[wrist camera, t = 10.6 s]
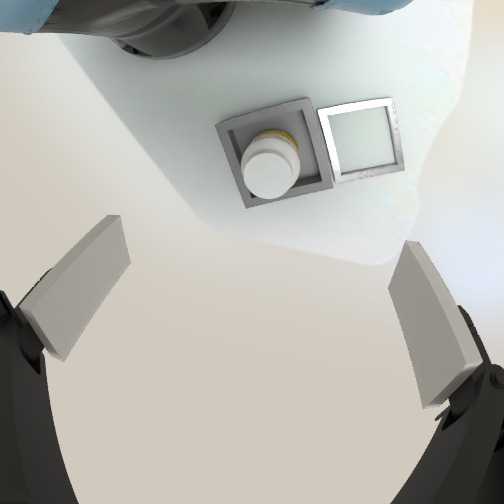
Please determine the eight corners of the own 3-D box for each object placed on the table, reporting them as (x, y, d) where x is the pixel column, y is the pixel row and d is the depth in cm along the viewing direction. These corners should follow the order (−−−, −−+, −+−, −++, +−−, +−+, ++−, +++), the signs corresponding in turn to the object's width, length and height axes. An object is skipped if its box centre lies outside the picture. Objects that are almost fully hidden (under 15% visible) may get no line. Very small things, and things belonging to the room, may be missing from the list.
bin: (221, 122, 29) (214, 125, 26) (307, 97, 26) (309, 97, 24) (249, 198, 34) (245, 208, 31) (329, 179, 31) (333, 187, 28)
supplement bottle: (274, 118, 27) (268, 129, 19) (308, 152, 29) (315, 178, 21) (240, 150, 30) (221, 175, 22) (273, 182, 32) (267, 218, 24)
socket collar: (316, 109, 27) (317, 110, 26) (389, 97, 24) (392, 97, 24) (335, 181, 31) (336, 183, 30) (402, 168, 29) (404, 170, 28)
